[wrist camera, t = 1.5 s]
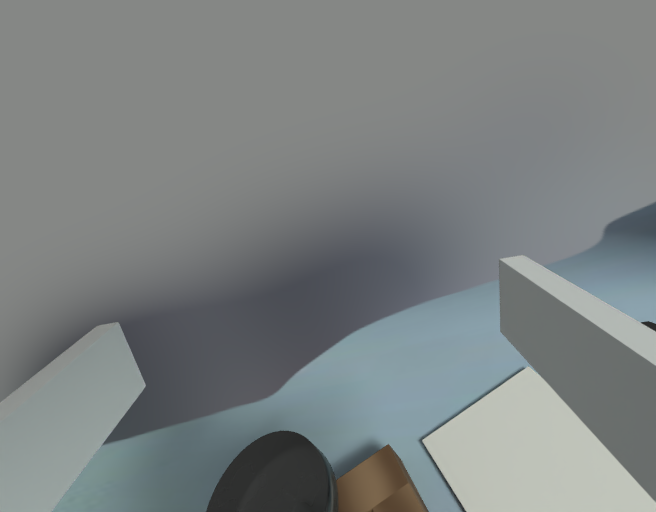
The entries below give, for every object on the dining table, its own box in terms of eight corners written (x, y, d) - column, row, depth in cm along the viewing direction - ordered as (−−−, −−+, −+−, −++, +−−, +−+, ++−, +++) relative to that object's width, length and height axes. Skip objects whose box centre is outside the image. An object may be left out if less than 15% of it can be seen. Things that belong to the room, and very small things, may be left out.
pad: (529, 369, 36) (528, 366, 36) (688, 502, 24) (689, 499, 24) (423, 442, 36) (421, 440, 35) (532, 617, 24) (531, 615, 23)
